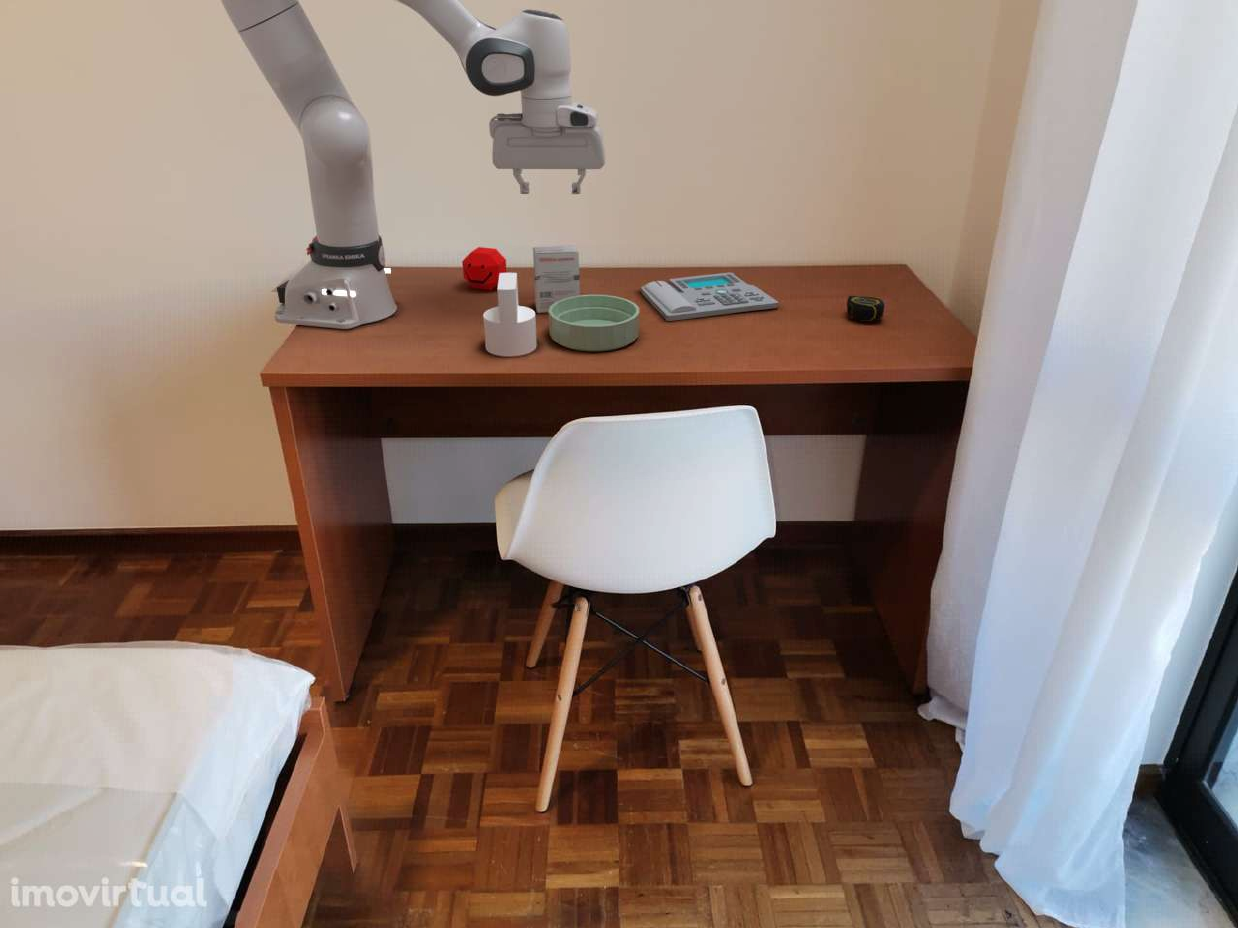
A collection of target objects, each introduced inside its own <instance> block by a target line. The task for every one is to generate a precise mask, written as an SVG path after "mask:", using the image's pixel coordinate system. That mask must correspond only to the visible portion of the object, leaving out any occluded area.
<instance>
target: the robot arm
mask: <svg viewBox="0 0 1238 928" xmlns="http://www.w3.org/2000/svg"><path fill="white" fill-rule="evenodd" d="M394 1H395V2H398V3H400V4H402V5H404V6H406V7H408V8H410V9H412V10H413V11H414V12H416V13H417V14H419V16H421V17H422V18H423V19H424V20H425V21H426V22H427V24H429V25H430V27H432V28H433V29H434V30H435V31H436V32H437V33H438V34H439V35H440V36H441V37H442V38H443V39H444V40H445V41H446V42H447V43H448V44H449V45H450V46H451V47H452V48H453V50H454V51H455V53H456V54H457V55H458V58H459V60H460V63H461V66H462V68H463V70H464V72H465V74H466V75H467V78H468V80H469V82H470V84H471V85H472V86H473V88H474V89H476V90H477V91H479V93H481V94H483V95H486V96H489V97H502V96H505V95H508V94H513V93H517V92H520V101H521V112H520V113H519V112H518V113H497V114H496V115H495V116H493V117H492V118H491V119H490V120H489V123H488V124H489V125H488V126H489V129H488V130H489V135H490V137H491V138H492V154H491V155H492V164H493V166H494V167H495V168H496V169H498V170H512V175H513V177H514V178H515V180H516V182H517V183H518V185H519V192H520V195H529V194H530V182H529V181H527V182H525V180H524V178H523V177H522V174H523V170H577V176H579V177H578V179H577V181H575V182H572V183H571V195H580V194H581V192H582V191H581V190H582V189H581V185H582V182H583V181H584V179H585V177H586V175H587V170H601V169H602V168H603V167H604V165H605V164H606V149H605V147H606V146H605V141H604V140H605V139H604V135H603V131H602V129H601V127H600V125H598V124H597V122H598V112H597V109H595V108H594V107H590V106H587V105H584V104H581V103H578V102H575V101H573V95H572V89H571V85H570V74H571V70H572V60H571V59H572V58H571V45H570V36H569V31H568V28H567V24H566V22H565V21H564V19H562V18H561V17H560V16H558V15H557V14H554V13H550V12H547V11H542V10H537V9H525V10H522V11H521V12H519V14H518V15H517V16H515V18H513V19H512V20H510V21H509V22H507V23H505V24H504V25H502V26H500V27H498V28H496V27H493V26H490V25H488V24H486V23H484V22H481V21H480V20H479V19H478V18H476V17H475V16H474V15H473V14H472V13H471V12H470V10H468V9H467V8H466V7H465V5H464V4H462V2H460V1H459V0H394ZM220 2H221V4H222V5H223V8H224V10H225V13H226V14H227V16H228V17H229V19H230V21H231V23H232V25H233V26H234V28H235V31H236V32H237V34H238V35H239V37H240V39H241V40H242V42H243V44H244V45H245V47H246V48H247V50H248V52H249V53H250V55H251V57H252V58H253V60H254V62H255V63H256V65H257V67H258V68H259V70H260V72H261V73H262V75H263V78H265V80H266V82H267V84H268V85H269V86H270V88H271V89H272V91H273V92H274V94H275V96H276V97H277V99H278V101H279V103H281V105H282V107H283V109H284V110H285V112H286V114H287V116H288V117H289V118H290V120H291V122H292V123H293V125H294V126H295V128H296V130H297V132H298V134H299V135H300V137H301V140H302V144H303V149H304V155H305V163H306V169H307V177H308V185H309V194H310V200H311V207H312V214H313V219H314V225H315V232H316V235H315V236H314V237H313V238H312V241H311V242H310V243H309V244H308V247H307V248H306V249H305V251H306V255H307V256H310V260H309V261H308V262H307V263H306V264H304V266H302V267H301V268H300V269H299V270H298V271H296V273H295V274H294V275H292V277H291V278H289V279H288V280H286V281H285V282H283V283H281V284H280V285H278V286H277V287H276V291H277V297H278V302H279V305H278V307H276V309H275V312H274V320H275V321H276V323H280V324H288V325H289V324H290V325H299V326H307V327H308V326H310V327H318V328H319V327H320V328H330V329H337V330H338V329H339V330H340V329H341V330H349V329H353V328H356V327H359V326H361V325H364V324H365V325H366V324H369V323H374V322H378V321H381V320H384V319H386V318H389V317H391V316H393V314H395V313H396V312H397V310H398V306H397V303H396V302H395V298H394V296H393V294H392V292H391V288H390V285H389V281H388V278H387V277H388V276H387V274H392V273H391V272H392V271H391V268H385V267H386V255H385V247H384V244H383V237H382V236H381V235H380V232H379V223H378V216H377V208H376V201H375V200H376V199H375V188H374V169H373V156H372V155H373V154H372V142H371V134H370V129H369V125H368V123H367V121H366V119H365V117H364V116H363V115H362V113H361V112H360V111H359V109H358V108H357V106H356V105H355V103H354V101H353V100H352V98H351V96H350V94H349V93H348V90H347V88H346V86H345V85H344V83H343V80H342V79H341V77H340V76H339V73H338V72H337V70H336V67H335V66H334V64H333V62H332V60H331V58H330V56H329V54H328V53H327V50H326V49H325V47H324V45H323V43H322V41H321V39H320V38H319V36H318V34H317V32H316V30H315V29H314V26H313V25H312V23H311V21H310V20H309V18H308V15H307V14H306V12H305V10H304V9H303V6H302V4H301V3H300V2H299V0H220Z"/></svg>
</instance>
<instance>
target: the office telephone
mask: <svg viewBox="0 0 1238 928" xmlns="http://www.w3.org/2000/svg"><path fill="white" fill-rule="evenodd" d="M640 293H641V294H642V296H643V297H644V298H645V299H646V300H647V301H648V302H649V304H650V305H651V306H652V307H653V308H654V309H655V310H656V311H657V312H658V313H659V315H661V316H662V317H663V318H664V319H665V320H666V321H667V322H673V321H682V320H690V319H697V318H706V317H713V316H720V315H721V316H722V315H728V314H729V315H730V314H736V313H744V312H752V311H753V312H754V311H762V310H771V309H778V307H779V302H778V301H777V300H776V299H775V298H774V297H772V296H770V295H769V294H767V292H764V291H763V290H762V289H761V288H758V287H757V286H755V284H754V285H753V284H748V283H746V282H745V281H744V280H742V279H741V278H739V277H738V276H736V275H735V274H734V272H722V273H712V274H704V275H695V276H685V277H677V278H670V279H669V280H668V282H666V281H664V280H654V281H651V282H648V283H647V284H644V285H643V286H641V287H640Z"/></svg>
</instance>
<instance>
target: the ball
mask: <svg viewBox="0 0 1238 928" xmlns="http://www.w3.org/2000/svg"><path fill="white" fill-rule="evenodd" d="M461 263H462V275H463V276H462V277H463V279H464V280H465V281H466V282H467V284H468V285H469V286H470V287H471V288H472V289H475V290H483V291H492V290H493V289H495V288H496V287H498V282H499V274H500V273H508V272H507V259H506V258H505V257H504V256H503V255H502V253H500V252H499V250H498V249H497V248H495V247H494V248H493V247H484V246H483V247H482V246H478V247H476V248H475V249H473V250H472V251H470V253H469V254H467V256H465V258H464V259H463V260H461Z"/></svg>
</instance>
